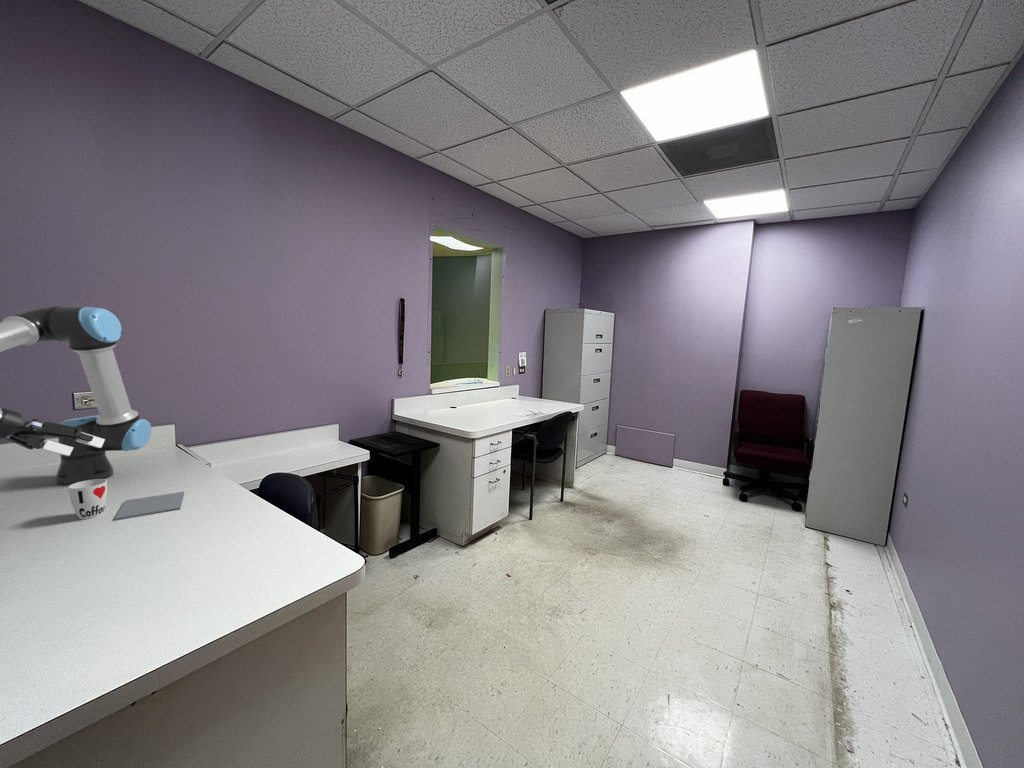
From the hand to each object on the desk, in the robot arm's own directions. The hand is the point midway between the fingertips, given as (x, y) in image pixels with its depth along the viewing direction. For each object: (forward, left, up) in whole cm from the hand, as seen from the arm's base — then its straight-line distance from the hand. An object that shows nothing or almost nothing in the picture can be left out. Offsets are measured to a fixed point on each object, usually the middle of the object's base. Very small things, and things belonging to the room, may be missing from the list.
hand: (86, 447), depth 125 cm
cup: (+4, 0, -20) cm, 21 cm away
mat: (+4, +14, -20) cm, 25 cm away
